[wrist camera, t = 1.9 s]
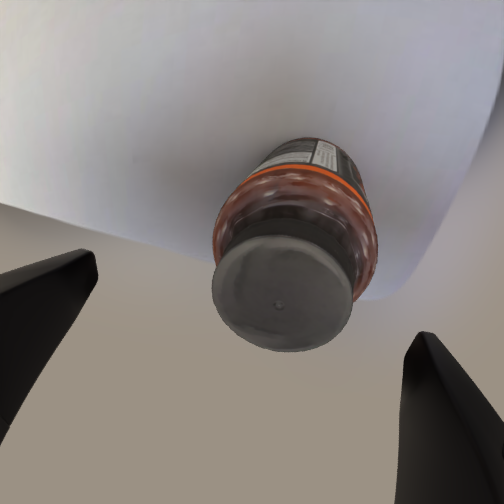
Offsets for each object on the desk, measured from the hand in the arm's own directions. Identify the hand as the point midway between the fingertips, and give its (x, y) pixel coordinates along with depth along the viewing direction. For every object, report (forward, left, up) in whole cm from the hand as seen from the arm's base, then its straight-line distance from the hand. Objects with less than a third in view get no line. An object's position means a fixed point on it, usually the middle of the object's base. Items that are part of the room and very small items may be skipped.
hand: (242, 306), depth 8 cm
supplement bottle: (-1, 0, -12) cm, 12 cm away
